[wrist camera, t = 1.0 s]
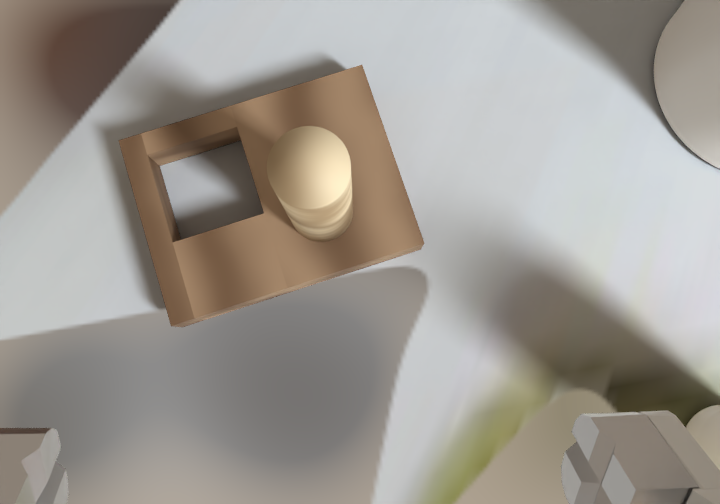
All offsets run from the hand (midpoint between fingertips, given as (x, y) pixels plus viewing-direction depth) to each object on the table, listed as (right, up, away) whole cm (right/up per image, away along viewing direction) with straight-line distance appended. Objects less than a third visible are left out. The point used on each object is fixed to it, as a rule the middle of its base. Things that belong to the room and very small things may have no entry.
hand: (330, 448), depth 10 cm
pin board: (-5, +7, +32) cm, 33 cm away
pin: (-2, +6, +30) cm, 30 cm away
